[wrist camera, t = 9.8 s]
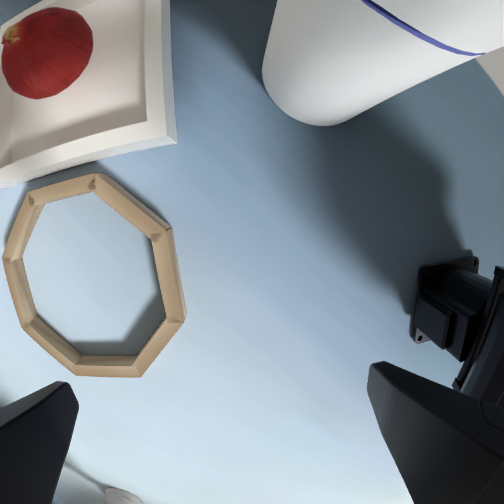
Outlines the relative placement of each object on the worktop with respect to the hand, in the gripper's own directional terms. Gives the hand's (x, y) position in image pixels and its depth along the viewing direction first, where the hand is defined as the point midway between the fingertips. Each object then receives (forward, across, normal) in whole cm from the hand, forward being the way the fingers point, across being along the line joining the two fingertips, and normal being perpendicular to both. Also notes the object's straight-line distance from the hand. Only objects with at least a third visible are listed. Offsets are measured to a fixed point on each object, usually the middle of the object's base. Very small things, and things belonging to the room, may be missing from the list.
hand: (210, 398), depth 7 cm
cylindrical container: (+12, -7, -12) cm, 19 cm away
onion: (+11, +9, -15) cm, 21 cm away
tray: (+12, +9, -15) cm, 21 cm away
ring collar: (+12, +10, 0) cm, 15 cm away
